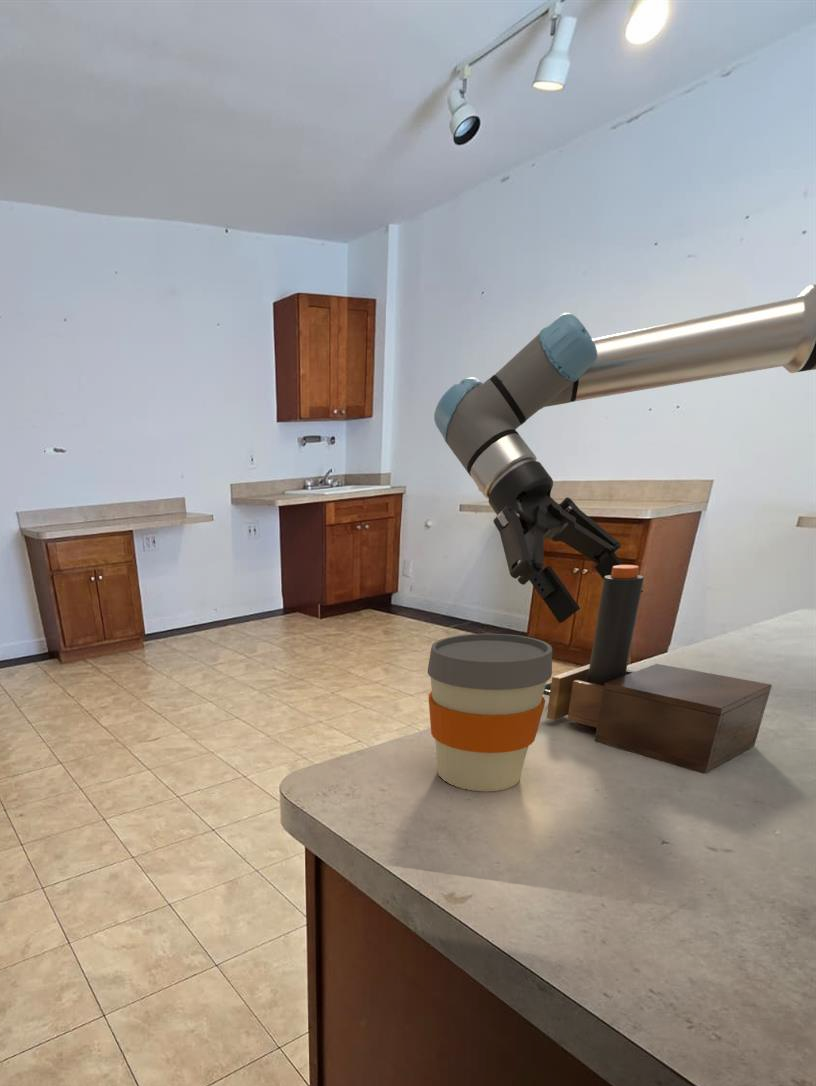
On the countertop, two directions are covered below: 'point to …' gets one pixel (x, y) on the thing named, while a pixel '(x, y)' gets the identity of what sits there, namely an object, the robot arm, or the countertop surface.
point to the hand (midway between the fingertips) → (602, 607)
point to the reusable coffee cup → (486, 706)
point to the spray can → (615, 624)
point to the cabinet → (682, 715)
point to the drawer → (575, 697)
